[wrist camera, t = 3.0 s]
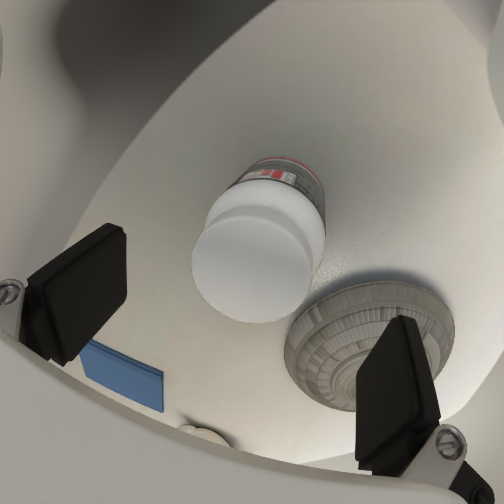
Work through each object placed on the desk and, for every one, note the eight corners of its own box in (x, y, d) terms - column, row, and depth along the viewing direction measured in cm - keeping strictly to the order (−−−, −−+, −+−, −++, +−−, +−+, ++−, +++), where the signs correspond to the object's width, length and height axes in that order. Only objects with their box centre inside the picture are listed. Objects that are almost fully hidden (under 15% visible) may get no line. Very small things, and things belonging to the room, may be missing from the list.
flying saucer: (395, 231, 19) (416, 271, 14) (470, 343, 22) (487, 386, 17) (250, 336, 26) (235, 383, 21) (349, 410, 29) (348, 452, 24)
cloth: (87, 374, 37) (85, 377, 37) (74, 330, 33) (71, 333, 32) (163, 411, 36) (161, 414, 36) (163, 371, 32) (160, 376, 31)
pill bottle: (235, 157, 19) (164, 203, 11) (322, 153, 18) (327, 197, 9) (244, 237, 22) (193, 327, 13) (324, 237, 20) (323, 335, 12)
